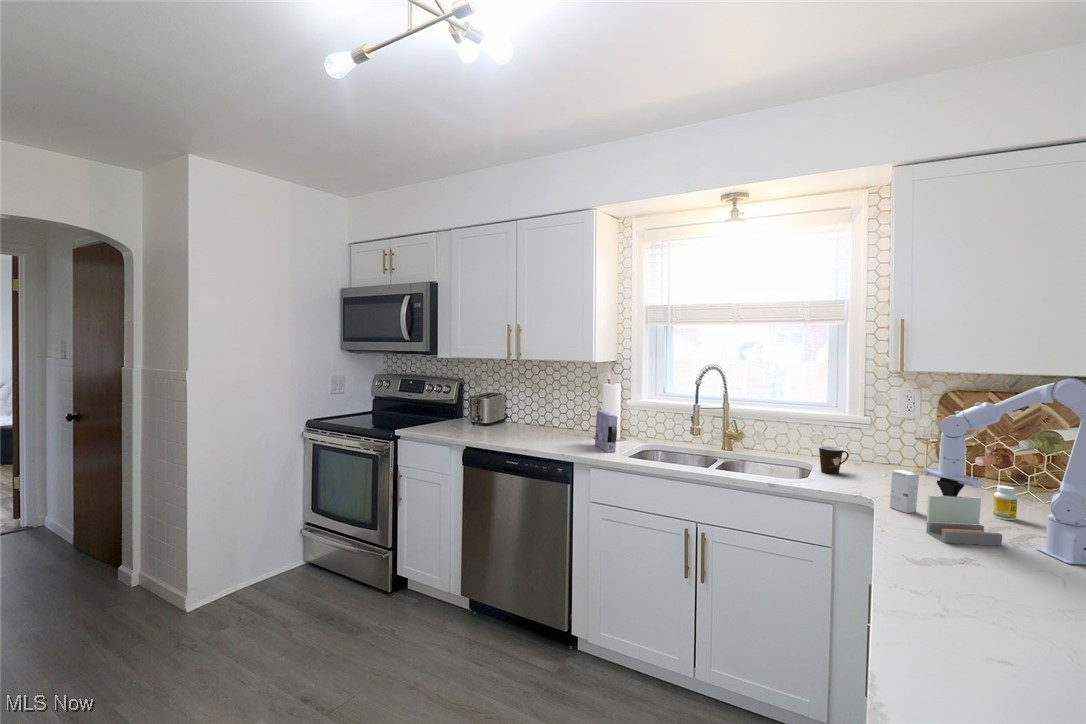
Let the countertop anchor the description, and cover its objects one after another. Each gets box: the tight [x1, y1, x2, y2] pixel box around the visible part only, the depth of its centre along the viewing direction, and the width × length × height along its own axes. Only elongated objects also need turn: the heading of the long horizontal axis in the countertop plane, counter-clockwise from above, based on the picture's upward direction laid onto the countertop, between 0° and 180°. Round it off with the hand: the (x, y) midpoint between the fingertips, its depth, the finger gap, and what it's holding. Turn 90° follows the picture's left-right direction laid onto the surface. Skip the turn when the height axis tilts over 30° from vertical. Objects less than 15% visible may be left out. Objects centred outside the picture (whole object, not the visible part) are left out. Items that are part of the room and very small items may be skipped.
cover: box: [926, 494, 982, 525], centre depth 145 cm, size 7×13×1 cm
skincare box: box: [889, 469, 920, 514], centre depth 166 cm, size 6×4×12 cm
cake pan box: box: [594, 409, 618, 453], centre depth 253 cm, size 19×5×18 cm, turn 12°
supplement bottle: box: [992, 484, 1018, 521], centre depth 160 cm, size 5×5×10 cm
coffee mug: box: [818, 445, 849, 475], centre depth 214 cm, size 12×9×10 cm
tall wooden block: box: [941, 529, 983, 534], centre depth 141 cm, size 2×10×2 cm, turn 85°
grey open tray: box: [926, 521, 1003, 547], centre depth 141 cm, size 8×14×3 cm, turn 85°
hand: (949, 506), depth 147 cm, fingers closed
